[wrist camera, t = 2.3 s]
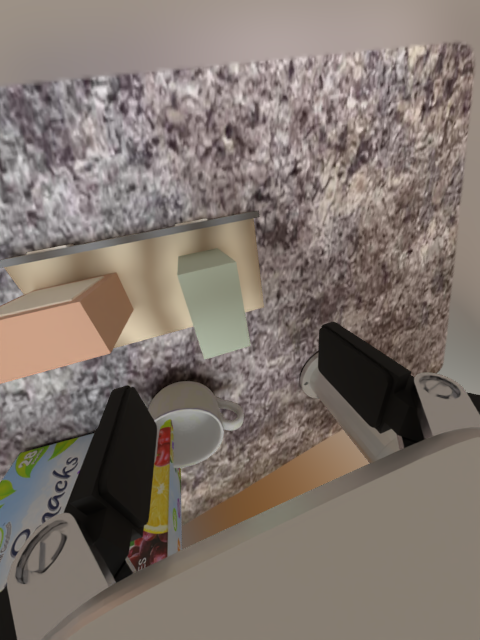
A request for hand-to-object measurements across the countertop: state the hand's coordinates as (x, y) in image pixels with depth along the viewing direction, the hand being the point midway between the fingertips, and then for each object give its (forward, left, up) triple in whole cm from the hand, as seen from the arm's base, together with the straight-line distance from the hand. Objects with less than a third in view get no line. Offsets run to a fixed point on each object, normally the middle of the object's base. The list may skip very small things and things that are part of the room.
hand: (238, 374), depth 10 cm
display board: (+5, -1, -18) cm, 19 cm away
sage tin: (0, 0, -17) cm, 17 cm away
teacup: (+6, +18, -18) cm, 27 cm away
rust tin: (+13, -1, -17) cm, 21 cm away
